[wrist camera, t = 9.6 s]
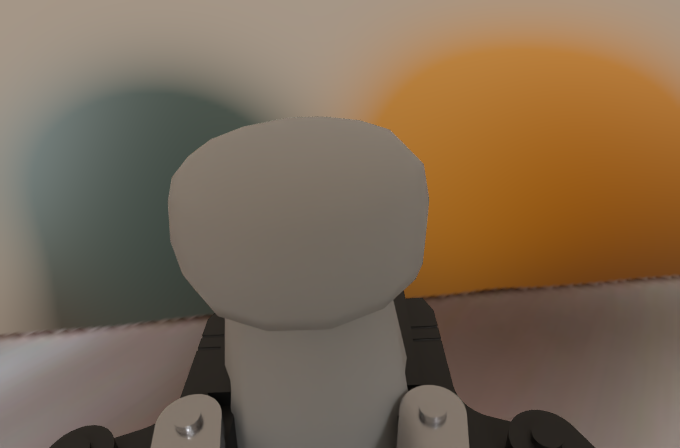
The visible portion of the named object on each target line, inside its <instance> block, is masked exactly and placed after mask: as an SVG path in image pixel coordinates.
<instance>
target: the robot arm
mask: <svg viewBox="0 0 680 448" xmlns="http://www.w3.org/2000/svg"><path fill="white" fill-rule="evenodd" d="M393 301H394V305H395V310H396V314H397V318H398V322H399V327H400V331H401V335H402V339H403V343H404V348H405V352H406V356H407V360H406V367H405V376H406V382H407V388H408V392H407V393H406V394H405V395H404V397H403V398H402V400H401V403H400V408H399V415H398V435H397V448H595V447H594V446H593V445H592V444H591V443H590V442H589V441H588V440H587V439H586V438H585V437H584V436H583V435H581V434H580V433H579V432H578V431H577V430H576V429H575V428H574V427H573V426H572V425H571V424H570V423H569V422H567V421H566V420H565V419H563V418H561V417H559V416H558V415H556V414H553V413H550V412H547V411H542V410H529V411H525V412H522V413H520V414H518V415H517V416H515V417H514V418H513V420H512V421H511V422H510V421H506V420H502V419H498V418H494V417H490V416H486V415H483V414H481V413H478V412H476V411H474V410H473V409H471V408H470V407H468V406H467V405H466V404H465V403H464V402H462V401H461V399H460V398H459V397H458V396H457V394H456V392H455V390H454V387H453V384H452V380H451V376H450V372H449V368H448V364H447V361H446V357H445V353H444V349H443V345H442V341H441V337H440V334H439V330H438V328H437V322H436V318H435V314H434V311H433V309H432V308H431V307H430V306H429V305H428V304H427V303H426V302H425V300H424V299H423V298H410V299H405V295H404V290H403V291H402V292H401V293H400V294H399V295H398V296H397V297H396V298H395V299H394V300H393ZM202 336H203V337H202V338H201V341H200V344H199V346H198V351H197V352H196V355H195V358H194V361H193V363H192V366H191V369H190V372H189V375H188V378H187V380H186V383H185V386H184V389H183V392H182V395H181V397H180V399H178V400H176V401H174V402H173V403H171V404H170V405H169V406H167V407H166V408H165V409H164V410H163V412H162V413H161V414H160V416H159V417H158V419H157V421H156V424H154V425H152V426H150V427H147V428H144V429H142V430H139V431H135V432H132V433H129V434H126V435H123V436H120V437H117V438H114V437H113V435H112V433H111V432H110V431H109V430H108V429H107V428H105V427H102V426H97V425H92V426H85V427H81V428H78V429H76V430H73V431H71V432H69V433H67V434H66V435H64V436H63V437H61V438H60V439H59V440H57V441H56V442H55V443H54V444H53V445H52V446H51V447H50V448H238V447H237V438H236V430H235V421H234V414H233V413H232V412H231V381H230V378H229V375H228V372H227V369H226V367H225V318H222V317H219V316H217V315H216V313H214V314H213V315H212V316H211V317H210V318H209V319H208V321H207V324H206V326H205V329H204V332H203V335H202Z"/></svg>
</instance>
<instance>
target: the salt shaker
mask: <svg viewBox="0 0 680 448" xmlns="http://www.w3.org/2000/svg"><path fill="white" fill-rule="evenodd" d="M428 206H429V197H428V189H427V183H426V176H425V170H424V164H423V163H422V162H421V161H420V160H419V159H418V158H417V157H416V156H415V155H414V154H413V153H412V152H411V151H410V150H409V149H408V148H407V147H406V146H405V145H404V144H403V143H402V142H401V141H400V140H399V139H398V138H397V137H396V136H395V135H394V134H393V133H392V132H391V131H390V130H389V129H386V128H382V127H379V126H376V125H373V124H370V123H367V122H363V121H360V120H350V119H341V118H331V117H297V118H283V119H279V120H274V121H269V122H264V123H259V124H254V125H249V126H245V127H241V128H239V129H237V130H234V131H231V132H228V133H226V134H223V135H221V136H218V137H216V138H213V139H211V140H209V141H208V142H207V143H205V144H204V145H203V146H201V147H200V148H199V149H197V150H196V151H195V152H193V153H192V154H191V155H189V156H188V158H187V159H186V160H185V161H184V163H183V164H182V165H181V166H180V168H179V169H178V170H177V172H176V173H175V174H174V175H173V177H172V180H171V186H170V193H169V198H168V210H169V226H170V241H171V244H172V247H173V249H174V252H175V255H176V257H177V260H178V263H179V266H180V269H181V271H182V274H183V275H184V277H185V278H186V279H187V280H188V281H189V283H190V284H191V285H192V287H193V288H194V289H195V290H196V291H197V292H198V294H199V295H200V296H201V297H202V298H203V299H204V301H205V302H206V303H207V304H208V305H209V306H210V308H211V309H212V310H213V311H214V312H215V313H216V315H217V316H219V317H222V318H225V367H226V369H227V372H228V375H229V378H230V381H231V412H232V413H233V414H234V421H235V430H236V438H237V447H238V448H397V435H398V415H399V408H400V403H401V400H402V398H403V397H404V395H405V394H406V393H407V392H408V388H407V382H406V376H405V367H406V360H407V356H406V352H405V348H404V343H403V339H402V335H401V331H400V327H399V322H398V318H397V314H396V310H395V305H394V301H393V300H394V299H395V298H396V297H397V296H398V295H399V294H400V293H401V292H402V291H403V290H404V289H405V288H406V287H407V286H409V285H410V284H411V283H412V282H413V281H414V280H415V279H416V277H417V275H418V272H419V270H420V268H421V266H422V263H423V255H424V245H425V236H426V226H427V216H428Z"/></svg>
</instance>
